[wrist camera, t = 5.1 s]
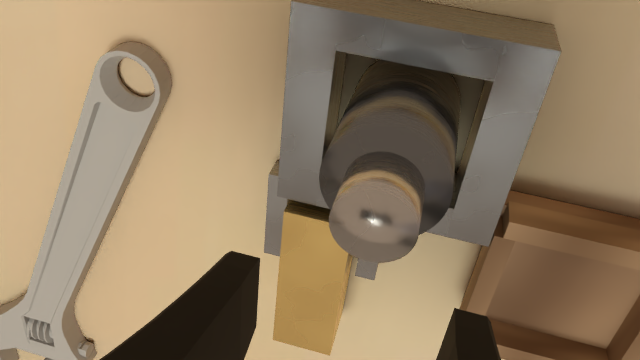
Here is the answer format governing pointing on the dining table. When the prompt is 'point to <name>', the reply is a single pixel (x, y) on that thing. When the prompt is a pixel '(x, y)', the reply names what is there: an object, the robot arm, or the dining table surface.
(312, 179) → the socket block
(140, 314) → the dining table surface
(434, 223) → the grey knob
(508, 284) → the brown square tray
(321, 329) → the bar
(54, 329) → the adjustable wrench
